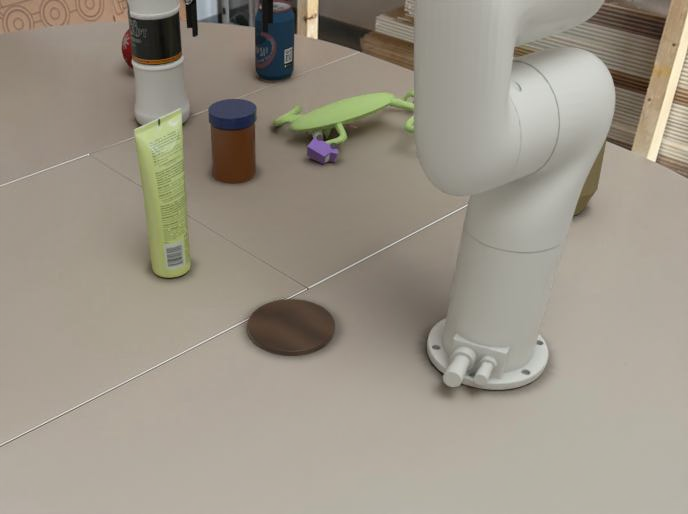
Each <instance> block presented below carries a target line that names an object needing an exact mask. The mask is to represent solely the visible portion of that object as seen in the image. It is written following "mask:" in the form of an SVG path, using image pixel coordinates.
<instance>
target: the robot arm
mask: <svg viewBox="0 0 688 514" xmlns="http://www.w3.org/2000/svg"><path fill="white" fill-rule="evenodd" d="M260 1H261V2H260V3H261V24H262V31H263V32H264V33H268V24H271V23H273V0H260ZM605 1H606V0H414V6H413V7H414V9H413V11H414V12H413V89H414V98H413V101H414V112H413V115H414V125H413V127H414V134H413V136H414V143H415V150H416V154H417V158H418V161H419V165H420V166H421V169H422V172H423V173H424V175H425V176H426V178H427V180H428V181H429V183H430V184H432V186H433V187H435V188H436V190H439V191H440V192H442V193H444V194H446V195H449V196H454V197H468V196H469V198H468V202H467V206H466V210H465V216H464V219H463V225H462V229H461V230H462V231H461V236H460V241H459V246H458V252H457V258H456V263H455V269H454V274H453V279H452V284H451V290H450V294H449V295H450V296H449V301H448V305H447V312H446V317H444V318H443V319H441V320H439V321H438V322H436V323H435V325H434V326H432V328H431V329H430V331H429V332H428V336H427V340H426V352H427V356H428V358H429V360H430V362H431V363H432V365H433V366H434V367H435V368H436V369H437V370H438V371H439V372H441V373H442V374H443V375H442V380H443V383H444V384H445V385H446V386H447V387H450V388H458V387H460V386H461V384H462V385H465V386H468V387H471V388H476V389H481V390H482V389H483V390H488V391H489V390H491V391H494V390H495V391H502V390H503V391H505V390H512V389H516V388H520V387H524V386H526V385H529V384H531V383H532V382H535V380H537V379H538V378H540V377H541V375H542V374H543V373H544V371H545V369H546V367H547V364H548V360H549V356H550V353H549V346H548V345H547V343H546V341H545V339H544V338H543V336H542V335H541V334H540V332H541V328H542V325H543V321H544V317H545V314H546V310H547V307H548V304H549V300H550V296H551V293H552V289H553V286H554V283H555V279H556V275H557V272H558V268H559V266H560V261H561V258H562V256H563V251H564V248H565V245H566V241H567V238H568V235H569V232H570V228H571V225H572V222H573V219H574V218H573V217H574V216H575V215H574V211H575V208H576V205H577V202H578V199H579V196H580V193H581V191H582V188H583V186H584V183H585V181H586V179H587V176H588V174H589V172H590V170H591V168H592V166H593V164H594V162H595V160H596V158H597V156H598V154H599V152H600V150H601V148H602V146H603V144H604V141H605V139H606V137H607V138H608V135H609V132H610V129H611V126H612V123H613V118H614V114H615V109H616V87H615V83H614V79H613V77H612V73H611V72H610V70H609V69H608V67H607V66H606V64H605V63H604V62H603V61H602V59H600V57H598V56H596V55H595V54H593V53H592V52H590V51H587V50H585V49H582V48H578V47H574V46H573V47H572V46H557V47H550V48H544V49H540V50H537V51H534V52H530V53H526V54H523V55H520V56H517V57H514V53H515V48H517V47H521V46H524V45H527V44H531V43H533V42H536V41H540V40H541V39H546V38H548V37H551V36H555V35H558V34H561V33H564V32H566V31H569V30H572V29H575V28H576V27H578V26H580V25H582V24H584V23H585V22H587V21H588V20H590V19H591V18H593V16H595V15H596V14H597V13H598V12H599V10H600V9H601V7H602V6H603V4H604V2H605ZM182 3H183V4H184V5H185V19H186V20H185V21H186V29H191V32H192V38H197V36H199V24H198V23H199V21H198V3H197V0H182ZM607 134H608V135H607Z"/></svg>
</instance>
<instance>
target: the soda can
mask: <svg viewBox="0 0 688 514" xmlns="http://www.w3.org/2000/svg"><path fill="white" fill-rule="evenodd" d="M257 5H258V6H257V8H258V9H257V11H256V12H255V15H254V70H255V73H256V75H257V76H258V78H259V80H261V81H263V82H266V83H279V82H284V81H286V80H288V79H289V78H290V77H291V75H292V74H293V72H294V70H295V30H296V29H295V27H296V26H295V25H296V23H295V21H296V15H295V13H294V10H293V8H292V7H293V6H292V3H291V2H290V1H286V0H273V23H271V24H268V33H264V32H263V31H262V24H261V2H260V3H259V4H257Z"/></svg>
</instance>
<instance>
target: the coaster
mask: <svg viewBox="0 0 688 514" xmlns="http://www.w3.org/2000/svg"><path fill="white" fill-rule="evenodd" d="M335 330H336V322H335V319H334V317H333V315H332V314H331V313H330V312H329V311H328V310H327V309H326V308H325V307H323V306H321V305H320V304H317V303H315V302H312V301H309V300H305V299H297V298H284V299H277V300H273V301H269V302H267V303H265V304H262V305H261V306H259V307H258V308H256V309H254V311H253V312H252V313H251V315H250V316H249V318H248V321H247V333H248V337H249V338H250V340H251V341H252V342H253V343H254V344H255V345H256V346H257V347H259V348H260V349H261V350H265V351H266V352H269V353H271V354H276V355H279V356H280V355H281V356H302V355H307V354H311V353H314V352H316V351H318V350H321V349H322V348H324V347H326V345H328V344H329V343H330V342H331V341H332V339H333V337H334V335H335V332H336V331H335Z"/></svg>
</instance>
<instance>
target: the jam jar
mask: <svg viewBox="0 0 688 514" xmlns="http://www.w3.org/2000/svg"><path fill="white" fill-rule="evenodd" d="M210 142H211V143H210V144H211V161H212V176H213V178H214V179H215V180H217V181H219V182H222V183H225V184H240V183H244V182H248V181H250V180H252V179H253V178H254V177H255V176H256V173H257V170H256V169H257V165H256V163H257V161H256V160H257V159H256V155H257V154H256V122H255V123H254V124H252V125H251V126H248V127H246V128H242V129H236V130H225V129H219V128H216V127H214V126H212V125H211V124H210Z"/></svg>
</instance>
